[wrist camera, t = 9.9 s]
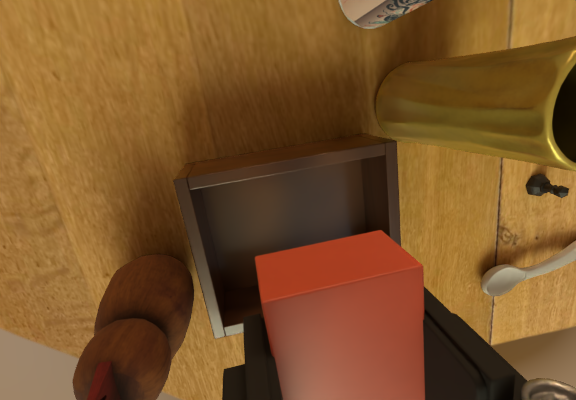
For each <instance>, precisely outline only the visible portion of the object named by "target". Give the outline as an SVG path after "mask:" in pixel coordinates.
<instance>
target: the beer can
mask: <svg viewBox="0 0 576 400" xmlns="http://www.w3.org/2000/svg"><path fill="white" fill-rule="evenodd" d="M430 1H432V0H339V4H340V7H341V9H342V11H343V13H344V14H345V16H346V17H347V18H348V19H349V20H350V21H351V22H352V23H353V24H355V25H357V26H359V27H361V28H365V29H373V28H377V27H381V26H383V25H385V24H387V23H389V22H391V21H393V20H395V19H397V18H399V17H401V16H403V15H405V14H407V13H409V12H411V11H413V10H415V9H417V8H418V7H420V6H422V5H424V4H426V3H428V2H430Z"/></svg>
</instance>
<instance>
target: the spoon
mask: <svg viewBox="0 0 576 400" xmlns="http://www.w3.org/2000/svg"><path fill="white" fill-rule="evenodd" d="M575 260H576V240H575V241H574V242H573V243H571V244H570V245H569V246H567V247H566V248H565V249H563V250H562V251H560V252H559V253H557V254H556V255H554V256H552V257H550V258H549V259H547V260H545V261H543V262H541V263H539V264H536V265H534V266H530V267H526V268H518V267H515V266H512V265H507V264H503V265H498V266H495V267H493V268H491V269H490V270H488V271H487V272H486V273H485V274H484V276H483V277H482V280H481V288H482V290H483V291H484V292H485V293H486V294H488V295H491V296H500V295H503V294H505V293H507V292H509V291H510V290H512V289H513V288H514V287H515V286H516V285H517V284H518V283H520V282H521V281H524V280H526V279H529V278H532V277H535V276H538V275H541V274H545V273H548V272H550V271H553V270H556V269H558V268H560V267H562V266H564V265H566V264H568V263H570V262H573V261H575Z"/></svg>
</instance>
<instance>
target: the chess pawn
mask: <svg viewBox="0 0 576 400" xmlns="http://www.w3.org/2000/svg"><path fill="white" fill-rule="evenodd" d="M526 188H527V192H528V194H530V195H536V196H541V195H543V194H544V193H547V192H550V193H551V194H554V195H556V196H558V197H561V198H562V197H565V196H567V195H568V190H569V188H566V187H564V186H559V187H558V186H557V185H554V186H553V185H551V184H550V181H549V180H548V179H547V178H546V177H545V175H543V174H538V175H535V176H531V178H530V180H529V181H528V183H527V185H526Z"/></svg>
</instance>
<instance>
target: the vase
mask: <svg viewBox="0 0 576 400" xmlns="http://www.w3.org/2000/svg"><path fill="white" fill-rule="evenodd" d="M375 108H376V116H377V120H378V123H379V125H380V126H381V128H382V129H383V131H384V132H385V133H386V134H387V135H388V136H389V137H390V138H392V139H394V140H396V141H399V142H404V143H420V144H426V145H434V146H440V147H445V148H450V149H455V150H461V151H467V152H472V153H478V154H484V155H490V156H496V157H502V158H508V159H514V160H520V161H525V162H530V163H536V164H541V165H545V166H550V167H555V168H560V169H565V170H569V171H576V36H575V37H570V38H566V39H562V40H557V41H552V42H546V43H541V44H535V45H530V46H525V47H520V48H514V49H507V50H501V51H494V52H487V53H480V54H473V55H466V56H458V57H451V58H444V59H438V60H432V61H413V62H407V63H404V64H402V65H400V66H398V67H397V68H395V69H394V70H392V71H391V72H390V73H389V74H388V75H387V76H386V78H385V79H384V81H383V82H382V84H381V86H380V89H379V91H378V94H377V98H376V106H375Z"/></svg>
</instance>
